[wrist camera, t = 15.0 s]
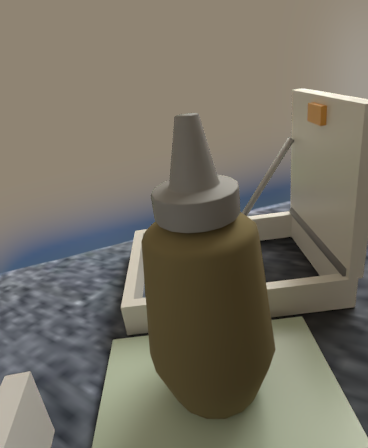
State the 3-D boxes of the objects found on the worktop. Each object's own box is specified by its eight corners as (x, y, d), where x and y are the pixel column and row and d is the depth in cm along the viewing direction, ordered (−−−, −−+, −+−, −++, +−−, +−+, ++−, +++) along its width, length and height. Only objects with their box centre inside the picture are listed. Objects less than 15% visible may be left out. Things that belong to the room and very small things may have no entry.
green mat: (301, 321, 29) (302, 316, 29) (371, 453, 19) (372, 446, 19) (114, 345, 30) (112, 339, 29) (87, 488, 20) (85, 481, 19)
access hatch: (299, 231, 44) (303, 88, 37) (359, 306, 30) (383, 101, 23) (139, 251, 44) (112, 113, 37) (127, 335, 30) (80, 140, 23)
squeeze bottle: (296, 424, 21) (304, 113, 13) (162, 451, 20) (92, 143, 13) (254, 332, 28) (244, 97, 21) (155, 350, 28) (108, 116, 20)
